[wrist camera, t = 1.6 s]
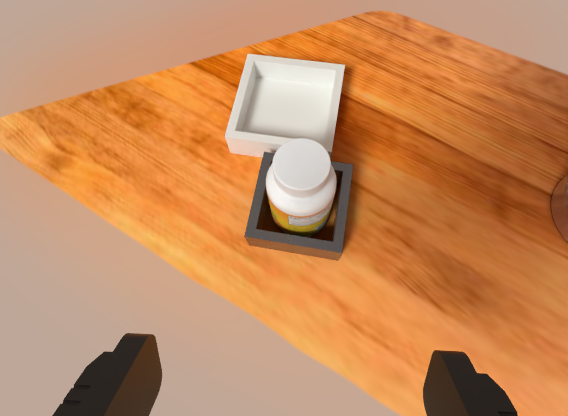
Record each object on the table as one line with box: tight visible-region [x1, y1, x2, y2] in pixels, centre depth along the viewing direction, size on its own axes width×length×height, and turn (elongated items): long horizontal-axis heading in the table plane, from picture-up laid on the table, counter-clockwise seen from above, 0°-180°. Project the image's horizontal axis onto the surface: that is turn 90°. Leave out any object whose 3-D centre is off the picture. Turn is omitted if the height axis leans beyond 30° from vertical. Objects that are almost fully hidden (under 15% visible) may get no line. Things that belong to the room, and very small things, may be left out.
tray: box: [225, 54, 345, 158], centre depth 34 cm, size 10×10×3 cm
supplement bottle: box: [266, 138, 337, 237], centre depth 27 cm, size 5×5×10 cm
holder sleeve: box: [244, 152, 353, 260], centre depth 30 cm, size 8×8×3 cm
